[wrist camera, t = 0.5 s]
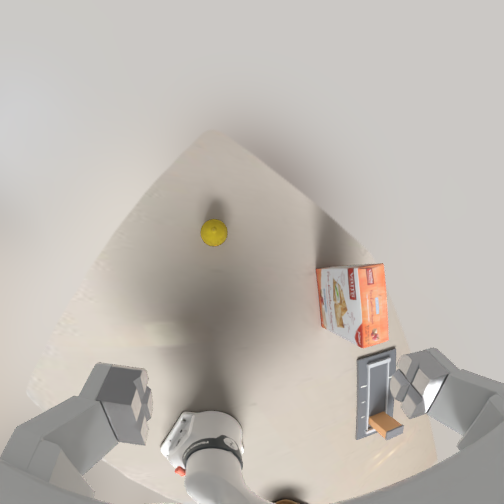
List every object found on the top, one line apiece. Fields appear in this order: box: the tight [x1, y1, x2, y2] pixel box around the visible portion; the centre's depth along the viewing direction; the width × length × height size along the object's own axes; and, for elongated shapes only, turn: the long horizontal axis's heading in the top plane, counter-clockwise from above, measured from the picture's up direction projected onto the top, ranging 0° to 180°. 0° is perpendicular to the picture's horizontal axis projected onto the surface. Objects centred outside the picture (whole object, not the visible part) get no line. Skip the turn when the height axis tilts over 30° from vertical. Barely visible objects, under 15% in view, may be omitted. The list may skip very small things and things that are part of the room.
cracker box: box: [316, 263, 389, 348], centre depth 53 cm, size 14×6×21 cm, turn 7°
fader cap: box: [368, 412, 404, 440], centre depth 57 cm, size 3×5×10 cm, turn 97°
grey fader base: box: [356, 348, 396, 440], centre depth 62 cm, size 26×12×2 cm, turn 6°
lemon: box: [201, 219, 227, 246], centre depth 57 cm, size 6×6×8 cm
